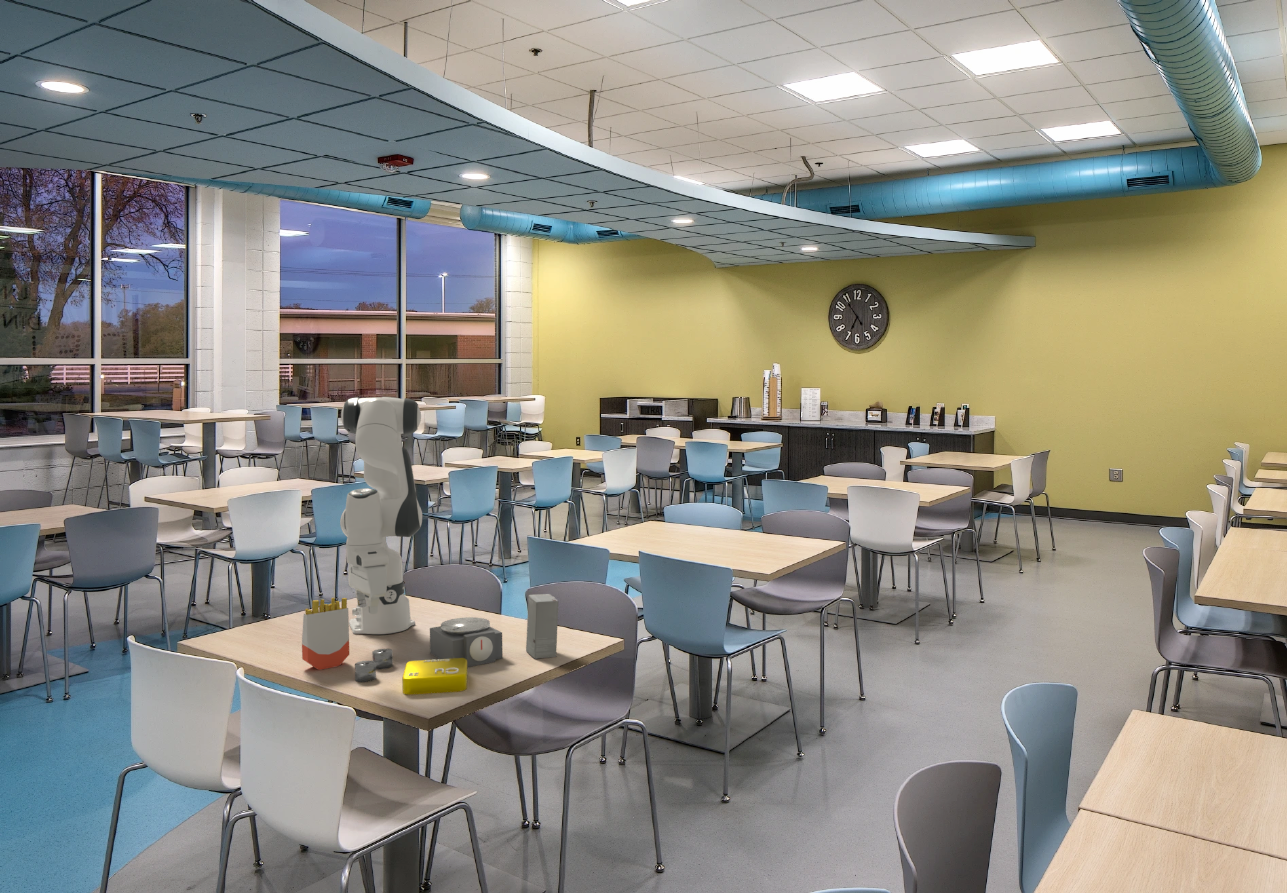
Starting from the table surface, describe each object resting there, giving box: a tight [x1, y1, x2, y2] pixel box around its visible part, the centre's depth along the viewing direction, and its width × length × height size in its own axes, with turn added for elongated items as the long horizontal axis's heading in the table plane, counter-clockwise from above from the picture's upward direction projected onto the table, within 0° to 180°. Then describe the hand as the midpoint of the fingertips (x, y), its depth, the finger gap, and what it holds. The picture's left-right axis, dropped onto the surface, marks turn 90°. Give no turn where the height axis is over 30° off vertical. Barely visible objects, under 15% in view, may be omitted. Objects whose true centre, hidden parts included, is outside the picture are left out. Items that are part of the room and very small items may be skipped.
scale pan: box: [440, 616, 491, 634], centre depth 241 cm, size 13×13×1 cm
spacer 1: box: [354, 660, 377, 683], centre depth 222 cm, size 5×5×4 cm
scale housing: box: [429, 625, 504, 668], centre depth 240 cm, size 18×14×8 cm
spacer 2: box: [371, 648, 394, 670], centre depth 232 cm, size 5×5×4 cm
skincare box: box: [525, 593, 559, 660], centre depth 242 cm, size 8×7×16 cm
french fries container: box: [301, 597, 350, 671], centre depth 232 cm, size 5×11×18 cm, turn 130°
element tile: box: [401, 658, 468, 696], centre depth 218 cm, size 15×15×5 cm
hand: (367, 610), depth 221 cm, fingers open, 8 cm apart
